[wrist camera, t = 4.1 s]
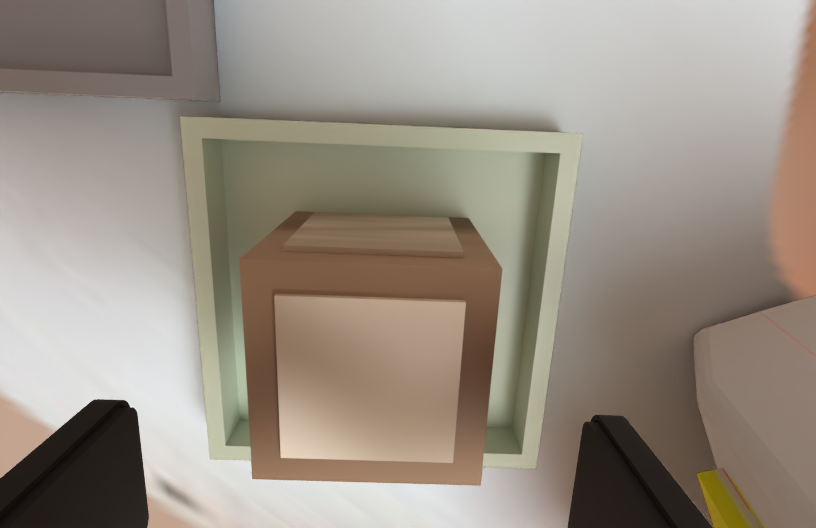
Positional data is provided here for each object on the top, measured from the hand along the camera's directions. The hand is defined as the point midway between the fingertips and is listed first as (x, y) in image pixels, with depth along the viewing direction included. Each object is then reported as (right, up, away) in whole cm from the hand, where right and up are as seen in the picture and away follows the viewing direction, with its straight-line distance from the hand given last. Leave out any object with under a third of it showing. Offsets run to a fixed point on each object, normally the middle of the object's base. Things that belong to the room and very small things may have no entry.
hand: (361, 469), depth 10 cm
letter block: (0, +3, +8) cm, 8 cm away
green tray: (0, +3, +8) cm, 9 cm away
